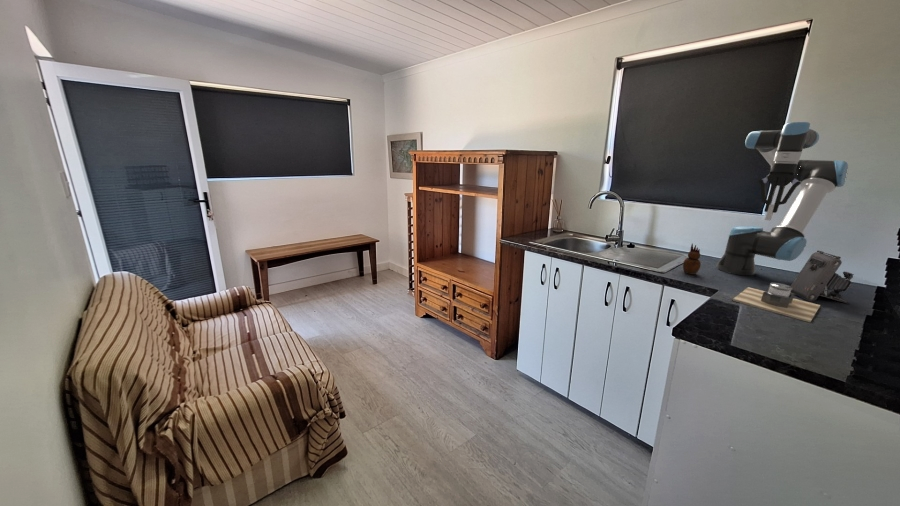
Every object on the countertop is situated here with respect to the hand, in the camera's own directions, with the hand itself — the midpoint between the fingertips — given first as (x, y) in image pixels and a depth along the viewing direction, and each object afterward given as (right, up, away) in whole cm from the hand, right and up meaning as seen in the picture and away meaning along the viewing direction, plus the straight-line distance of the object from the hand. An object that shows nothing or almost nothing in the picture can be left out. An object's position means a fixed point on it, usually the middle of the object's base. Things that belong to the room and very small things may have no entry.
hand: (767, 219), depth 142 cm
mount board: (-6, -34, -10) cm, 36 cm away
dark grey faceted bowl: (-6, -34, -10) cm, 36 cm away
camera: (+18, -33, -3) cm, 38 cm away
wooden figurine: (-16, -24, +24) cm, 38 cm away
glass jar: (-6, -34, -10) cm, 36 cm away
